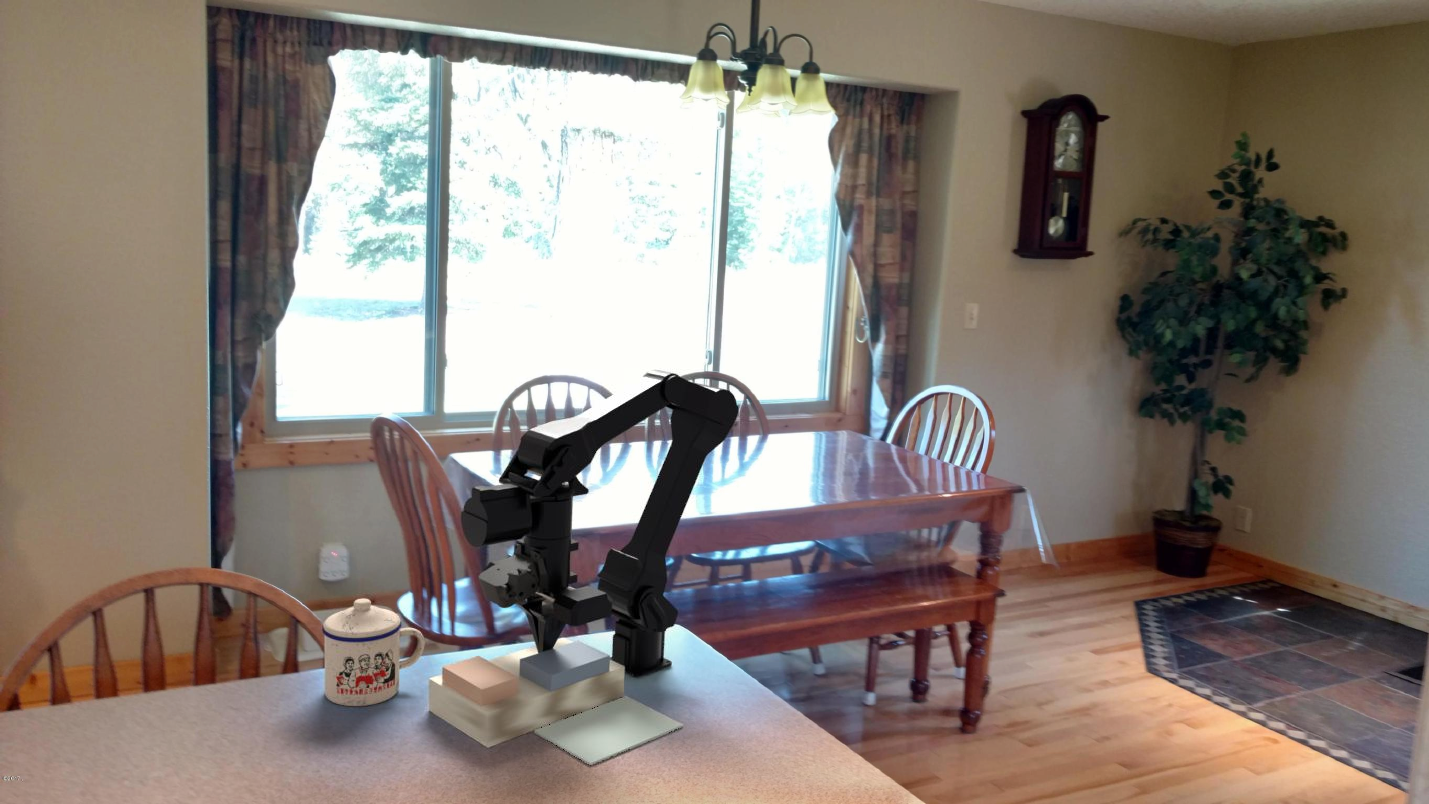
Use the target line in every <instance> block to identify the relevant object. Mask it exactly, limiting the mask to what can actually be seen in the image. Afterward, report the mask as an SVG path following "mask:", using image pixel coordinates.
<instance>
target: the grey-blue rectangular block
mask: <svg viewBox="0 0 1429 804" xmlns="http://www.w3.org/2000/svg"><path fill="white" fill-rule="evenodd" d="M610 657H611V656H610V654H608V653H606V652H604V651H601V650H599V649H598V648H595V647H593V646H591V645H589V644H587V643H585V642H582V641H580V640H575V641H572V643H569V644H566V645H563V646H560V647H556V648H553V649H550V650H547V651H544V652H541V653H538V654H535V655H531V656H528V657H525V658H522V659H520V672H519V675H520V676H522V677H524V678H526V679H528V680H530V681H532V682H534V683H536V684H537V685H539V686H541V687H543V688H545V689H547V690H549V691H554V690H557V689H560V688H562V687H565V686H568V685H571V684H574V683H576V682H579V681H582V680H585V679H588V678H591V677H593V676H596V675H599V674H602V673H605V672H607V671H609V668H610Z"/></svg>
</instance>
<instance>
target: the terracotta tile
mask: <svg viewBox="0 0 1429 804" xmlns="http://www.w3.org/2000/svg"><path fill="white" fill-rule="evenodd" d="M441 669H442V670H441V671H442V674H441V675H442V683H443V684H445V685H447V686H448V687H450V688H452V689H453V690H455V691H457V692H458V693H460V694H462V695H464V696H465V697H467V698H469V699H470V700H472V701H474V702H475V703H477V704H479V705H480V706H484V705H487V704H490V703H493V702H496V701H499V700H502V699H505V698H507V697H510V696H513V695H516V694H518V689H519V677H517V676H515V675H513V674H512V673H510V672H508V671H506V670H504V669H502V668H501V667H499V666H497V665H495V664H493V663H491V662H489V661H488V659H486V658H484V657H482V656H480V655H476V656H473V657H470V658H466V659H463V660H460V661H457V662H454V663H450V664H447V665H444V666H442V668H441Z"/></svg>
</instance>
